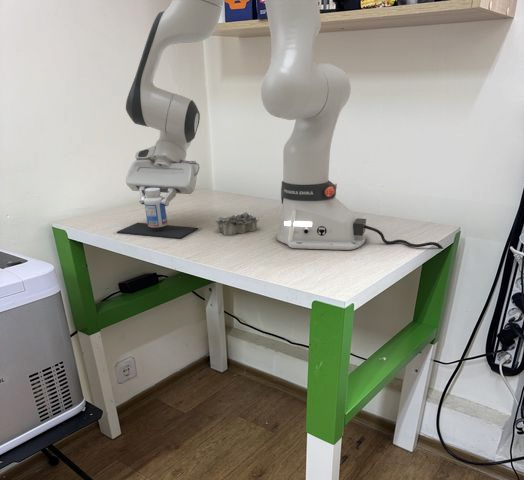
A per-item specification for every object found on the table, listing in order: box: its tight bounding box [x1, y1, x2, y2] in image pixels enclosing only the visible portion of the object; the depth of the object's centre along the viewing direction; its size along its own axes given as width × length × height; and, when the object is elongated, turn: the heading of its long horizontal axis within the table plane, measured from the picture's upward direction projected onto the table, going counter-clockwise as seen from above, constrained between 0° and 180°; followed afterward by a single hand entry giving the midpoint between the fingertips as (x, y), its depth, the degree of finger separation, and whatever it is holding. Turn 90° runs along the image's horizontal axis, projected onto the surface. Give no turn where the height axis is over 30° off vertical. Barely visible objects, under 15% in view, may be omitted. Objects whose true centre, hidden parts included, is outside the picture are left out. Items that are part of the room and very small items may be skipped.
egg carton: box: [214, 211, 260, 236], centre depth 131 cm, size 11×8×4 cm
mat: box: [116, 222, 199, 240], centre depth 133 cm, size 20×10×1 cm, turn 69°
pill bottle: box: [144, 188, 168, 228], centre depth 130 cm, size 6×5×10 cm
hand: (153, 204), depth 129 cm, fingers closed on pill bottle, 5 cm apart
